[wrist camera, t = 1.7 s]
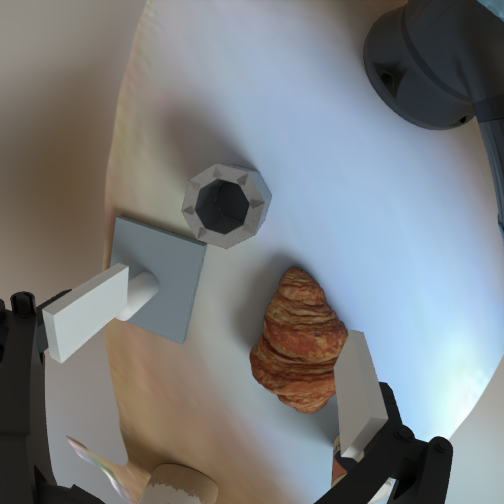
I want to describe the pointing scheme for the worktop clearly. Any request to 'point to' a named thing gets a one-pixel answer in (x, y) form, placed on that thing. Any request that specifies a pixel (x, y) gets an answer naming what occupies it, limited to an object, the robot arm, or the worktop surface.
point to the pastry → (299, 344)
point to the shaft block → (157, 276)
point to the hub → (209, 214)
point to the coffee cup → (347, 463)
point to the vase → (179, 486)
